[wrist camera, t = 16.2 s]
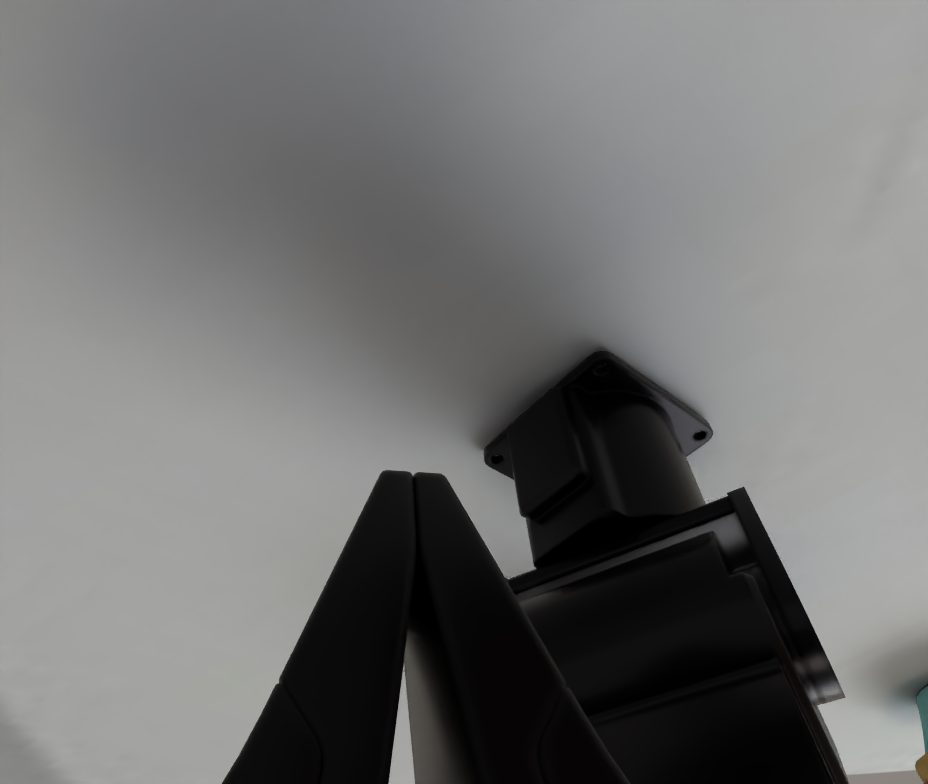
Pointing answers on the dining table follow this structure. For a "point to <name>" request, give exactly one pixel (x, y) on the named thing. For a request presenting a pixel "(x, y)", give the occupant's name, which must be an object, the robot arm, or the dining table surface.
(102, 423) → the dining table surface
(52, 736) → the dining table surface
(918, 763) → the cupcake
